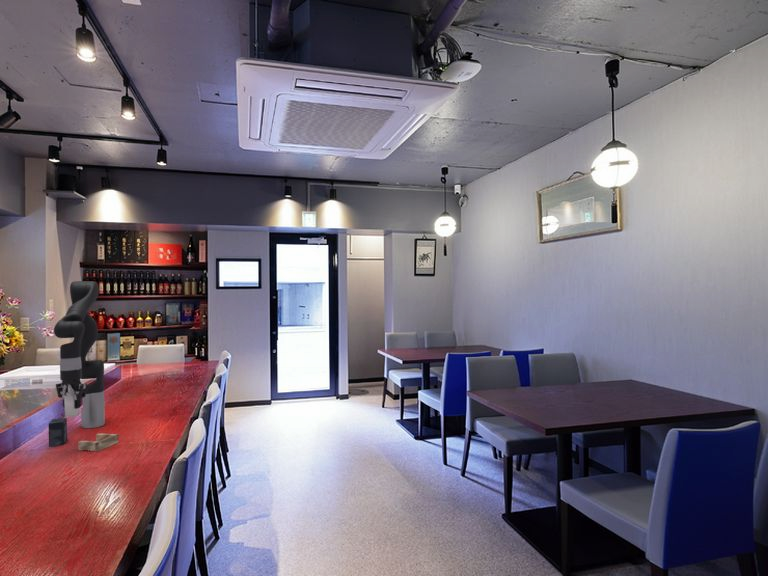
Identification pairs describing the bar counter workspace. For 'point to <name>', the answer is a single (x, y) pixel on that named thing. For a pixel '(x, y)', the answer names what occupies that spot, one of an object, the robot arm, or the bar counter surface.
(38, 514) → the bar counter surface
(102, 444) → the rest
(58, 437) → the box
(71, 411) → the bottle
